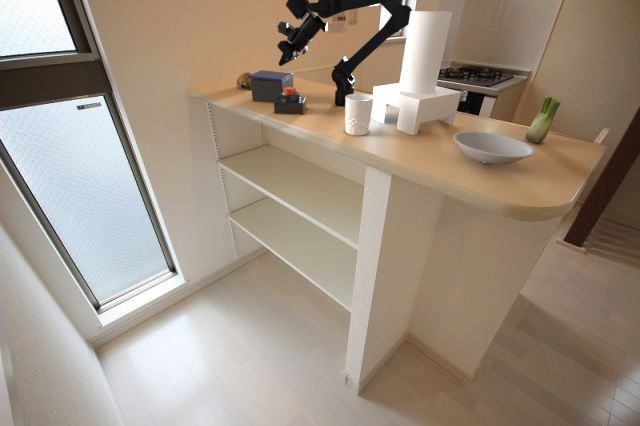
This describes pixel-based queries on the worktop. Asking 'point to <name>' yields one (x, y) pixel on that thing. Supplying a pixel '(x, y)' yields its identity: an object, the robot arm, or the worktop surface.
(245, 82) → the bread roll
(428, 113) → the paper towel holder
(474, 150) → the dish
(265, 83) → the dark grey housing
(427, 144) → the worktop surface
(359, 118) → the white cup
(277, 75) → the lid
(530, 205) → the worktop surface
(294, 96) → the red push button box
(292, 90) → the button
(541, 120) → the fennel bulb
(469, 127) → the worktop surface
